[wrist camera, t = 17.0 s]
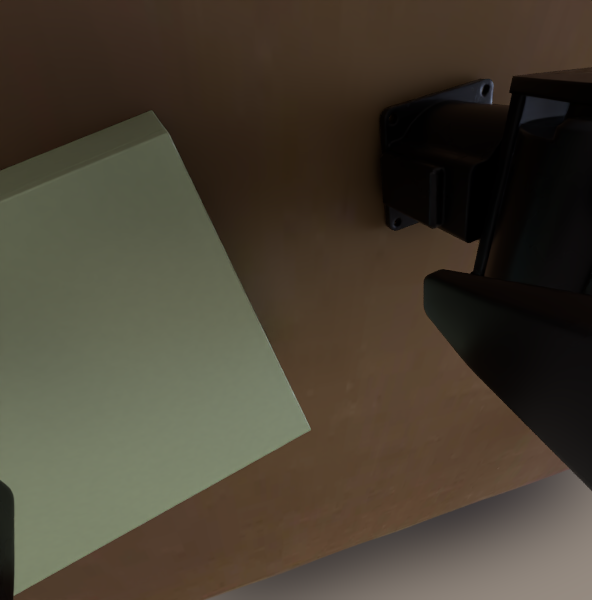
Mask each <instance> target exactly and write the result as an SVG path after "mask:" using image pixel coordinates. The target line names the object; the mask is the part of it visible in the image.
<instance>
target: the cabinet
mask: <svg viewBox="0 0 592 600" xmlns="http://www.w3.org/2000/svg"><path fill="white" fill-rule="evenodd" d="M310 430H311V428H310V426H309V424H308V422H307V420H306V418H305V416H304V414H303V412H302V410H301V408H300V405H299V403H298V401H297V399H296V397H295V395H294V393H293V391H292V389H291V387H290V385H289V382H288V380H287V378H286V376H285V374H284V372H283V370H282V368H281V366H280V364H279V362H278V360H277V357H276V355H275V353H274V351H273V349H272V347H271V345H270V343H269V341H268V339H267V337H266V334H265V332H264V330H263V328H262V326H261V324H260V322H259V320H258V318H257V316H256V314H255V312H254V309H253V307H252V305H251V303H250V301H249V299H248V297H247V295H246V293H245V291H244V289H243V287H242V284H241V282H240V280H239V278H238V276H237V274H236V272H235V270H234V268H233V266H232V264H231V261H230V259H229V257H228V255H227V253H226V251H225V249H224V247H223V245H222V243H221V241H220V239H219V236H218V234H217V232H216V230H215V228H214V226H213V224H212V222H211V220H210V218H209V216H208V213H207V211H206V209H205V207H204V205H203V203H202V201H201V199H200V197H199V195H198V193H197V191H196V188H195V186H194V184H193V182H192V180H191V178H190V176H189V174H188V172H187V170H186V168H185V165H184V163H183V161H182V159H181V157H180V155H179V153H178V151H177V149H176V147H175V145H174V143H173V140H172V138H171V136H170V134H169V133H168V131H167V130H166V129H165V127H164V126H163V125H162V123H161V122H160V121H159V119H158V118H157V116H156V115H155V114H154V112H153V111H152V110H151V111H148V112H146V113H143V114H141V115H138V116H136V117H133V118H131V119H128V120H126V121H123V122H121V123H118V124H116V125H113V126H111V127H108V128H106V129H103V130H101V131H98V132H96V133H93V134H91V135H88V136H86V137H83V138H81V139H78V140H76V141H73V142H71V143H68V144H66V145H63V146H61V147H58V148H56V149H53V150H51V151H48V152H46V153H43V154H41V155H38V156H36V157H33V158H31V159H28V160H26V161H23V162H21V163H18V164H16V165H13V166H11V167H8V168H6V169H3V170H1V171H0V480H1V481H2V482H4V483H5V484H6V485H7V486H8V487H9V488H10V489H11V491H12V493H13V495H14V534H15V575H14V595H16V594H18V593H20V592H21V591H23V590H25V589H27V588H28V587H30V586H32V585H34V584H36V583H37V582H39V581H41V580H43V579H45V578H46V577H48V576H50V575H52V574H54V573H55V572H57V571H59V570H61V569H62V568H64V567H66V566H68V565H70V564H71V563H73V562H75V561H77V560H79V559H80V558H82V557H84V556H86V555H88V554H89V553H91V552H93V551H95V550H97V549H98V548H100V547H102V546H104V545H105V544H107V543H109V542H111V541H113V540H114V539H116V538H118V537H120V536H122V535H123V534H125V533H127V532H129V531H131V530H132V529H134V528H136V527H138V526H140V525H141V524H143V523H145V522H147V521H148V520H150V519H152V518H154V517H156V516H157V515H159V514H161V513H163V512H165V511H166V510H168V509H170V508H172V507H174V506H175V505H177V504H179V503H181V502H183V501H184V500H186V499H188V498H190V497H191V496H193V495H195V494H197V493H199V492H200V491H202V490H204V489H206V488H208V487H209V486H211V485H213V484H215V483H217V482H218V481H220V480H222V479H224V478H226V477H227V476H229V475H231V474H233V473H234V472H236V471H238V470H240V469H242V468H243V467H245V466H247V465H249V464H251V463H252V462H254V461H256V460H258V459H260V458H261V457H263V456H265V455H267V454H269V453H270V452H272V451H274V450H276V449H277V448H279V447H281V446H283V445H285V444H286V443H288V442H290V441H292V440H294V439H295V438H297V437H299V436H301V435H303V434H304V433H306V432H308V431H310ZM14 595H13V596H14Z"/></svg>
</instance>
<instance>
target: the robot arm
mask: <svg viewBox="0 0 592 600" xmlns="http://www.w3.org/2000/svg"><path fill="white" fill-rule="evenodd" d="M483 87H484V89H483V92H481V91H482V88H483ZM509 93H512V96H511V101H510V105H499V104H492V96H493V82H492V80H490V79H478V80H475V81H472V82H469V83H465V84H462V85H459V86H455V87H452V88H449V89H446V90H442V91H439V92H436V93H432V94H429V95H426V96H423V97H419V98H416V99H413V100H409V101H406V102H403V103H400V104H396V105H393V106H390V107H387V108H386V109H384V111H383V112H382V114H381V117H380V127H381V144H382V157H381V174H382V190H383V202H384V204H385V211H386V224H387V226H388V227H389V228H390V229H392V230H394V231H396V230H400V229H403V228H405V227H408V226H410V225H413V224H416V223H418V222H420V223H422V224H424V225H426V226H428V227H430V228H432V229H434V228H439V229H441V230H443V231H445V232H447V233H449V234H451V235H453V236H455V237H457V238H459V239H461V240H463V241H465V242H467V243H471V242H473V241H476V240H479V241H480V242H479V247H478V251H477V256H476V260H475V265H474V270H473V271H472V272H471V273H470V274H468V273H462V272H456V271H451V270H444V269H442V270H438V271H436V272H434V273H431V274H429V275H427V276H426V277H425V279H424V310H425V312H426V314H427V316H428V317H429V318H430V320H431V321H432V322H433V323H434V325H435V326H436V327H437V328H438V330H439V331H440V332H441V333H442V335H443V336H444V337H445V338H446V339H447V341H448V342H449V343H450V344H451V346H452V347H453V348H454V349H455V351H456V352H457V353H458V354H459V356H460V357H461V358H462V359H463V360H464V362H465V363H466V364H467V365H468V366H469V367H470V368H471V369H472V371H473V372H474V373H475V374H476V375H477V376H478V377H479V378H480V379H481V380H482V381H483V382H484V383H485V384H486V385H487V386H488V387H489V388H490V389H491V390H492V391H493V392H494V393H495V394H496V395H497V396H498V397H499V398H500V399H501V400H502V401H503V402H504V403H505V404H506V405H507V406H508V407H509V408H510V409H511V410H512V411H513V412H514V413H515V414H516V415H517V416H518V417H519V418H520V419H521V420H522V421H523V422H524V423H525V424H526V425H527V426H528V427H529V428H530V429H531V430H532V431H533V432H534V433H535V434H536V435H537V436H538V437H539V438H540V439H541V440H542V441H543V442H544V443H545V444H546V445H547V446H548V447H549V448H550V449H551V450H552V451H553V452H554V453H555V454H556V455H557V456H558V457H559V458H560V459H561V460H562V461H563V462H564V463H565V464H566V465H567V466H568V467H569V468H570V469H571V470H572V471H573V472H574V473H575V474H576V475H577V476H578V477H579V478H580V479H581V480H582V481H583V482H584V483H585V484H586V485H587V487H589V488H590V489H591V491H592V67H591V68H581V69H572V70H563V71H554V72H544V73H535V74H526V75H517V76H513V78H512V82H511V87H510V92H509ZM391 114H393V120H392V122H391V123H390V122H389V117H390V115H391ZM397 218H398V219H397ZM396 219H397V222H396V223H395V224H394V221H395V220H396ZM14 575H15V534H14V495H13V493H12V491H11V489H10V488H9V487H8V486H7V485H6V484H5V483H4V482H2V481H1V480H0V600H13V595H14Z"/></svg>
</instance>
